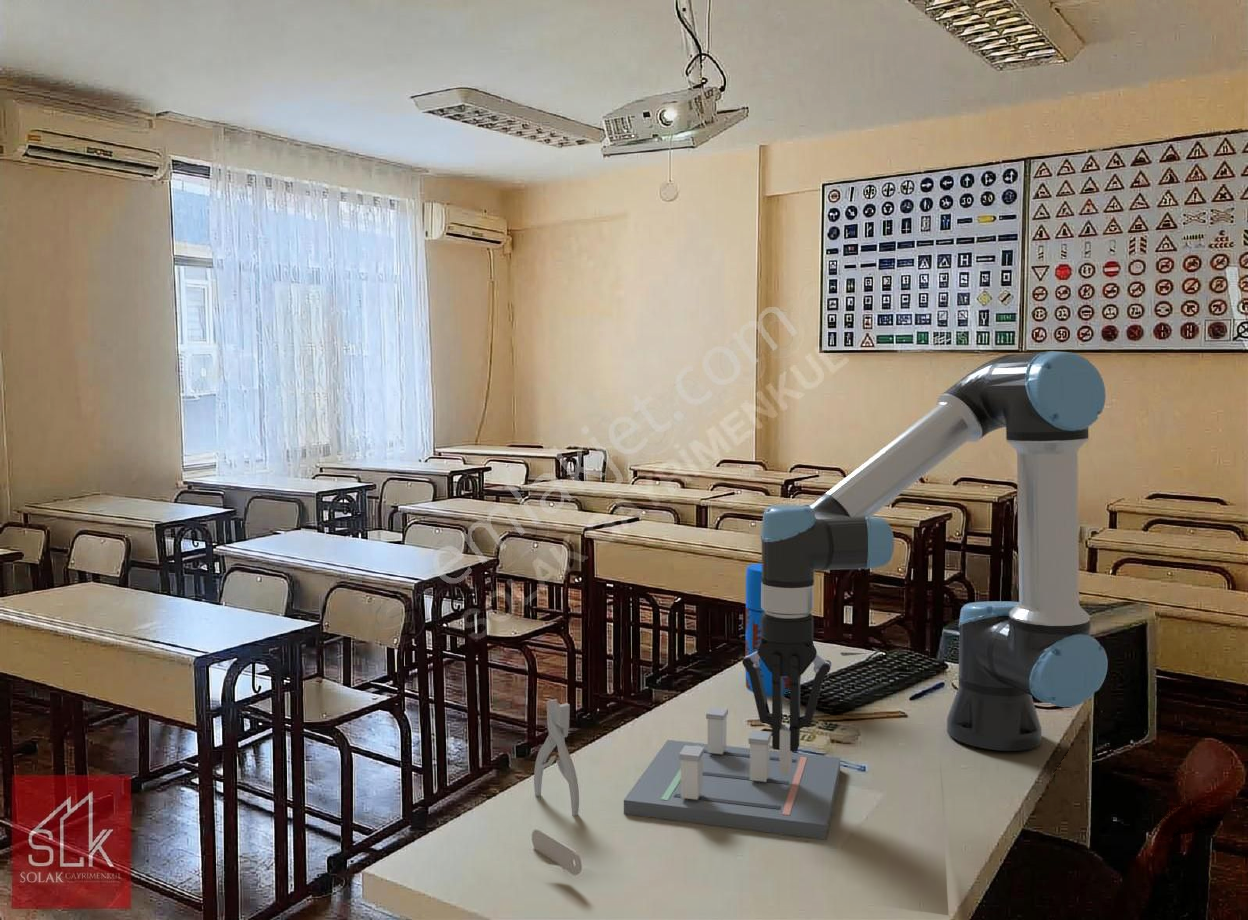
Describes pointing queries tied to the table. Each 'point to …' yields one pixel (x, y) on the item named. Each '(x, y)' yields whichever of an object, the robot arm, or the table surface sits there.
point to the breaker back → (716, 729)
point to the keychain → (557, 851)
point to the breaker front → (691, 771)
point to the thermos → (757, 627)
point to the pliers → (557, 732)
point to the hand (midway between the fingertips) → (785, 770)
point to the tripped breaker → (759, 755)
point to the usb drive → (855, 653)
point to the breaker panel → (740, 792)
